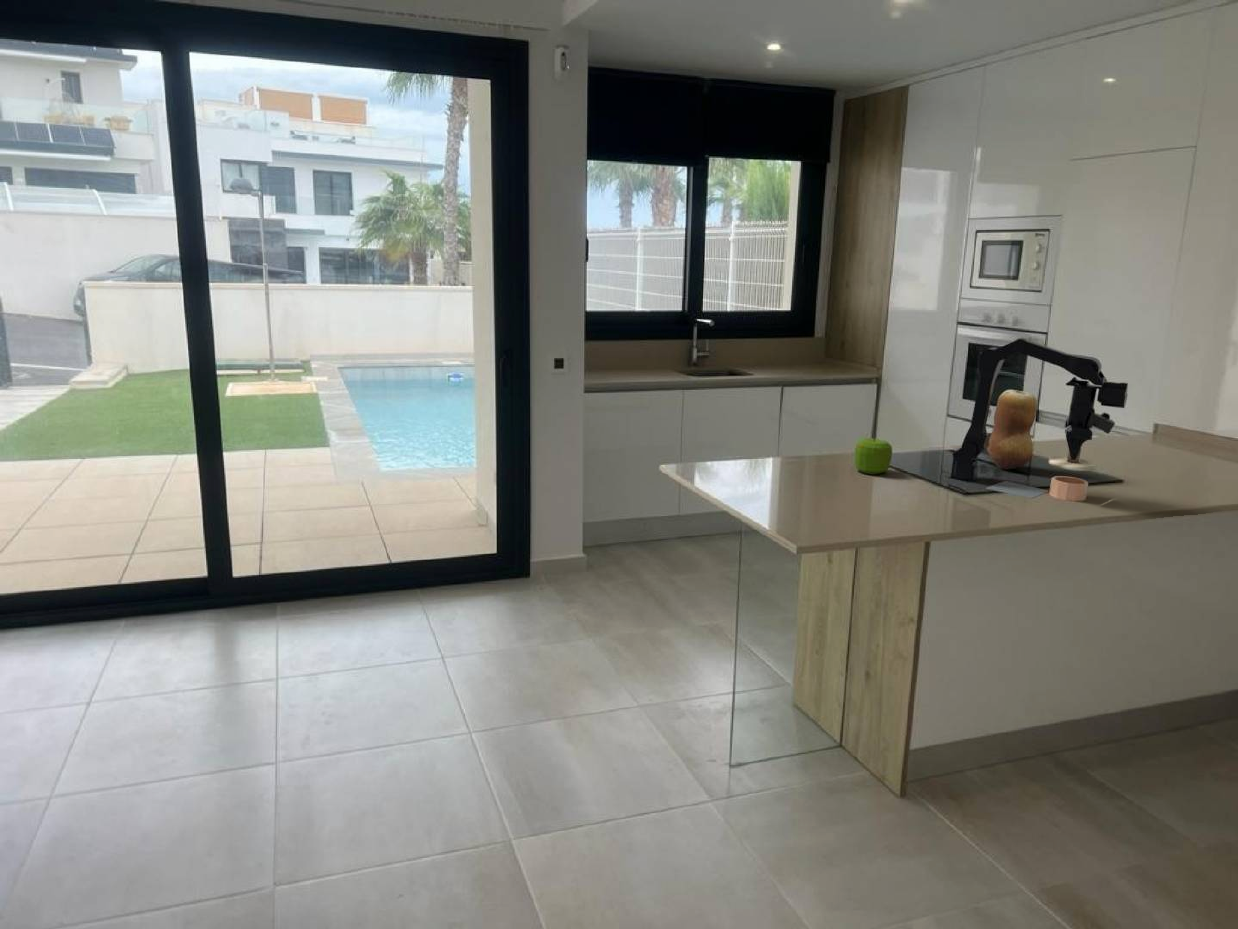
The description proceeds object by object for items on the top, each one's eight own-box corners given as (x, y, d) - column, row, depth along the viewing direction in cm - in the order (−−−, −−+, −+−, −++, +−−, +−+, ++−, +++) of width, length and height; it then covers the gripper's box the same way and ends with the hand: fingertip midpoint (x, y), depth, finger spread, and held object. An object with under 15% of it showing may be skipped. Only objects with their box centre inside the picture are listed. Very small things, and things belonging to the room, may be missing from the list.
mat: (985, 489, 256) (985, 488, 256) (1004, 482, 265) (1005, 481, 265) (1030, 499, 247) (1030, 498, 247) (1049, 492, 256) (1049, 490, 256)
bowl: (1044, 496, 251) (1047, 479, 250) (1057, 491, 257) (1059, 474, 256) (1077, 503, 245) (1080, 486, 243) (1089, 498, 251) (1092, 481, 249)
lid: (1041, 464, 249) (1044, 446, 247) (1058, 458, 257) (1061, 441, 256) (1086, 473, 240) (1089, 455, 239) (1102, 466, 248) (1105, 449, 247)
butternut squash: (1036, 475, 275) (1048, 395, 269) (993, 473, 275) (1004, 393, 269) (1018, 464, 288) (1029, 388, 282) (976, 462, 289) (987, 386, 282)
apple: (897, 475, 269) (901, 440, 266) (866, 477, 265) (870, 441, 262) (875, 466, 279) (879, 432, 276) (845, 468, 275) (849, 433, 273)
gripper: (1118, 411, 233) (1107, 469, 237) (1113, 401, 249) (1103, 455, 253) (1071, 407, 237) (1061, 463, 241) (1069, 397, 254) (1060, 450, 257)
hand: (1073, 458), depth 248 cm, fingers closed on lid, 3 cm apart
